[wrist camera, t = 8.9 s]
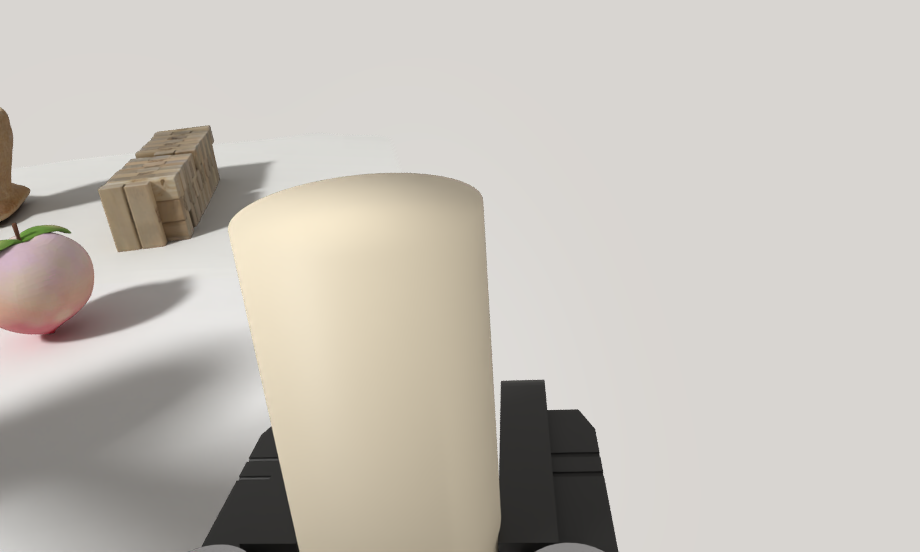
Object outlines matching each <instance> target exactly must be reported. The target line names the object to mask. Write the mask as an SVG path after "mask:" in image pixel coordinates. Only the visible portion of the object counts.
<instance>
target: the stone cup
mask: <svg viewBox="0 0 920 552" xmlns="http://www.w3.org/2000/svg"><path fill="white" fill-rule="evenodd" d="M12 149H13V133H12V129H11V126H10V122H9V117H8V115H7V113H6V112H5V111H4V110H3V109H2V108H0V221H2V220H5V219H6V218H8V217H9V216H11V215H12V214H13V213H14V212H15V211H16V210H17V209H18V208H19V207H20V206H21V204H22V203H23V202H24V201H25V199H26V198H27V196H28V195H29V193H30V189H29V188H27V187H25V186H22V185H17V184H14V183H11V165H12Z"/></svg>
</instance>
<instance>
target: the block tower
mask: <svg viewBox="0 0 920 552" xmlns="http://www.w3.org/2000/svg"><path fill="white" fill-rule="evenodd" d="M213 142H214V139H213V135H212V131H211V127H210V126H209V125H208V126H200V127H192V128H184V129H177V130H168V131H160V132H157V133H155V134H154V137H152V139H151V140H150V142H148V143H147V144H146V145H145V146H143V147H142V149H141V150H140V151H138V152H137V153H136V154H135V156H136V159H131V160H130V161H129V162H128V163H126V164H125V166H124V167H123V168H122V170H119V171H118V172H116V173H115V174H114V175H113V176H112V177H111V179H109V180H108V181H107V183H106V184H105V185H104V186H101V187H100V188H99V189H98V192H99V195H100V198H101V201H102V205H103V208H104V211H105V214H106V217H107V220H108V223H109V226H110V229H111V232H112V236H113V239H114V242H115V245H116V248H117V251H118V252H123V251H131V250H139V249H142V248H143V249H147V248H155V247H163V246H166V244H167V242H169V241H177V240H186V239H190V238H191V236H192V234H193V232H194V229H193V227H196V226H197V224H198V222H199V221H200V220H201V219H200V218H201V216H202V215H203V213H204V211H205V209H206V208H207V206H208V204H209V201H210V199H211V198H212V196H213V194H214V191H215V189H216V186H217V185H218V181H219V180H220V178H219V173H218V169H217V164H216V160H215V155H214V151H213V146H212V144H213Z"/></svg>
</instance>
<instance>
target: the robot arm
mask: <svg viewBox="0 0 920 552" xmlns="http://www.w3.org/2000/svg"><path fill="white" fill-rule="evenodd" d="M500 411H501V412H500V414H501V415H500V463H499V490H500V508H501V524H500V530H499V534H498V550H499V552H618V547H617V542H616V537H615V532H614V527H613V521H612V516H611V511H610V505H609V500H608V495H607V490H606V484H605V479H604V476H603V469H602V464H601V458H600V456H599V448H598V442H597V437H596V432H595V428H594V427H593V426H592V425H591V424H590V423H589V421H587V419H586V418H585V417H584V416H583V415H582V413H581V412H580V411H579V410H547V403H546V392H545V381H544V380H520V381H519V380H517V381H501V409H500ZM239 477H240V478H239V481H236V483H235V485H234V487H233V489H232V491H231V493H230V494H229V496H228V498H227V500H226V502H225V504H224V506H223V508H222V509H221V511H220V513H219V515H218V517H217V519H216V521H215V522H214V524H213V526H212V528H211V530H210V532H209V534H208V536H207V537H206V539H205V541H204V543H203V545H202V547H201V548H197V549H194V550H192V551H189V552H299V547H298V543H297V538H296V534H295V529H294V525H293V520H292V516H291V511H290V507H289V502H288V498H287V493H286V489H285V484H284V480H283V475H282V471H281V466H280V462H279V457H278V453H277V448H276V444H275V439H274V435H273V430H272V426H271V427H270V428H269V429H268V430H267V431H265V432H264V433H263V434H262V435H261V436H260V438H259V440H258V442H257V444H256V446H255V448H254V450H253V451H252V453H251V455H250V457H249V462H247V463H246V465H245V466H244V468H243V470H242V472H241V474H240V476H239Z"/></svg>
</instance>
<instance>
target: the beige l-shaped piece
mask: <svg viewBox="0 0 920 552" xmlns="http://www.w3.org/2000/svg"><path fill="white" fill-rule="evenodd" d="M228 233H229V237H230V242H231V246H232V251H233V255H234V260H235V264H236V269H237V273H238V278H239V282H240V287H241V291H242V296H243V300H244V305H245V309H246V314H247V318H248V323H249V327H250V332H251V336H252V341H253V345H254V350H255V354H256V358H257V363H258V367H259V372H260V376H261V381H262V385H263V390H264V394H265V399H266V403H267V408H268V412H269V417H270V421H271V426H272V430H273V435H274V439H275V444H276V448H277V453H278V457H279V462H280V466H281V471H282V475H283V480H284V484H285V489H286V493H287V498H288V502H289V507H290V511H291V516H292V520H293V525H294V529H295V534H296V538H297V543H298V547H299V552H499V550H498V534H499V530H500V524H501V508H500V490H499V473H498V455H497V437H496V420H495V402H494V384H493V367H492V349H491V331H490V314H489V296H488V279H487V261H486V243H485V227H484V207H483V197H482V195H481V194H480V192H479V191H478V190H477V189H475V188H474V187H472V186H471V185H469V184H466V183H464V182H461V181H458V180H455V179H452V178H447V177H442V176H436V175H428V174H416V173H377V174H363V175H354V176H346V177H338V178H332V179H326V180H321V181H316V182H312V183H307V184H303V185H299V186H295V187H292V188H289V189H285V190H282V191H279V192H276V193H274V194H271V195H269V196H266V197H264V198H261V199H259V200H257V201H255V202H253V203H251V204H250V205H248V206H246V207H245V208H243V209H242V210H241V211H239V212H238V213H237V214H236V215H235V216H234V217H233V218H232V219H231V221H230V223H229V226H228Z"/></svg>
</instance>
